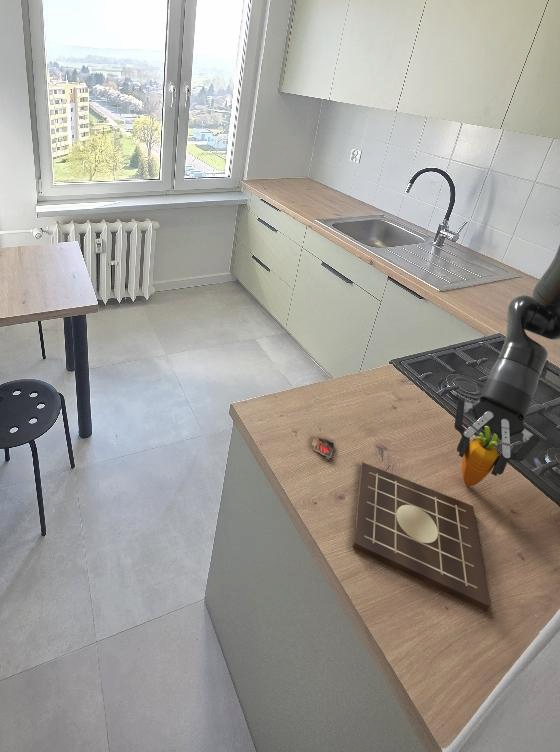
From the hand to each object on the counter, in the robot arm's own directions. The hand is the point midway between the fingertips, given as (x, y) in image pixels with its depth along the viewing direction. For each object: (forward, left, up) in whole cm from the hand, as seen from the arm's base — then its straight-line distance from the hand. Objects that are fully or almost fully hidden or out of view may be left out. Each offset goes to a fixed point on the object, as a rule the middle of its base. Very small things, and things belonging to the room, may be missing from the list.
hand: (477, 465), depth 81 cm
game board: (+9, +13, -8) cm, 18 cm away
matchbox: (+27, +3, -8) cm, 29 cm away
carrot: (-1, -2, -8) cm, 8 cm away
